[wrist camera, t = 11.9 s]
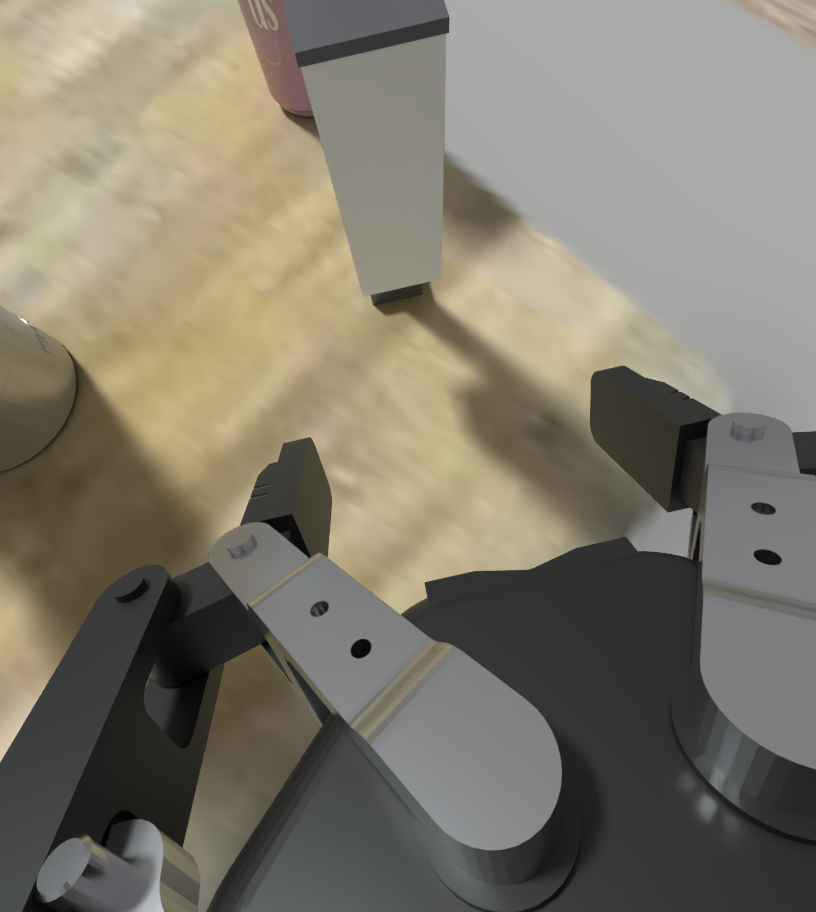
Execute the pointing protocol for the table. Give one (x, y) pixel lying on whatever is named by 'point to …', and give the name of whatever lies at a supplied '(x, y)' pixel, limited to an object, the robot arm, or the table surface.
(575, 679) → the robot arm
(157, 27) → the table surface
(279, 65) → the beverage can
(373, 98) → the fader knob
